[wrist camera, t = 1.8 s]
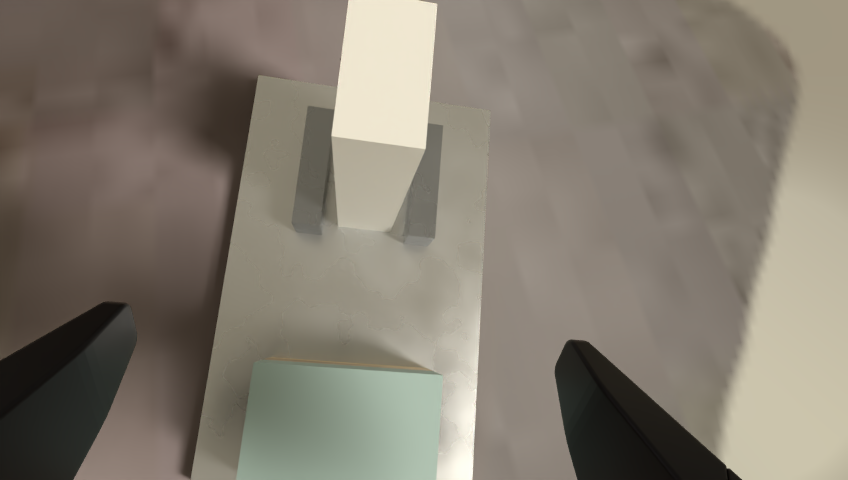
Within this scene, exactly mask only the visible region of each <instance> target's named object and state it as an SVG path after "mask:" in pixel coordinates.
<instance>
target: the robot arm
mask: <svg viewBox="0 0 848 480" xmlns="http://www.w3.org/2000/svg"><path fill="white" fill-rule="evenodd" d="M136 341H137V331H136V327H135V323H134V318H133V314H132V310H131V307H130V306H129V304H127V303H121V302H109V301H108V302H103V303H101V304H99V305H97V306H95V307H94V308H92V309H90V310H88V311H87V312H85V313H83V314H81V315H80V316H78V317H76V318H74V319H73V320H71V321H69V322H67V323H66V324H64V325H62V326H60V327H59V328H57V329H55V330H53V331H52V332H50V333H48V334H46V335H45V336H43V337H41V338H39V339H37V340H36V341H34V342H32V343H30V344H29V345H27V346H25V347H23V348H22V349H20V350H18V351H16V352H15V353H13V354H11V355H9V356H8V357H6V358H4V359H2V360H1V361H0V480H73V479H74V477H75V476H76V474H77V472H78V470H79V468H80V466H81V464H82V463H83V461H84V459H85V457H86V455H87V453H88V451H89V449H90V448H91V446H92V444H93V442H94V440H95V438H96V436H97V435H98V433H99V431H100V429H101V427H102V425H103V423H104V421H105V419H106V417H107V415H108V412H109V410H110V408H111V405H112V403H113V400H114V398H115V395H116V393H117V390H118V388H119V385H120V383H121V380H122V378H123V375H124V373H125V370H126V368H127V365H128V363H129V360H130V358H131V355H132V353H133V350H134V348H135V345H136ZM555 378H556V384H557V390H558V396H559V402H560V407H561V413H562V419H563V425H564V430H565V435H566V440H567V444H568V448H569V452H570V455H571V459H572V462H573V466H574V469H575V473H576V476H577V480H742V479H741V478H739V477H738V476H737V475H736V474H735V473H734V472H733V471H732V470H731V469H727V468H726V465H725V464H724V463H723V462H722V461H720V460H719V459H718V458H717V457H716V456H715V455H714V454H713V453H711V452H710V451H709V450H708V449H707V448H706V447H705V446H704V445H703V444H701V443H700V442H699V441H698V440H697V439H696V438H695V437H694V436H693V435H691V434H690V433H689V432H688V431H687V430H686V429H685V428H684V427H683V426H681V425H680V424H679V423H678V422H677V421H676V420H675V419H674V418H672V417H671V416H670V415H669V414H668V413H667V412H666V411H665V410H664V409H662V408H661V407H660V406H659V405H658V404H657V403H656V402H655V401H654V400H652V399H651V398H650V397H649V396H648V395H647V394H646V393H645V392H644V391H642V390H641V389H640V388H639V387H638V386H637V385H636V384H635V383H633V382H632V381H631V380H630V379H629V378H628V377H627V376H626V375H625V374H623V373H622V372H621V371H620V370H619V369H618V368H617V367H616V366H615V365H613V364H612V363H611V362H610V361H609V360H608V359H607V358H606V357H605V356H603V355H602V354H601V353H600V352H599V351H598V350H597V349H596V348H594V347H593V346H592V345H591V344H590V343H589V342H587V341H583V340H569V341H567V342H566V344H565V346H564V348H563V350H562V352H561V354H560V356H559V359H558V361H557V363H556V366H555Z"/></svg>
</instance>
